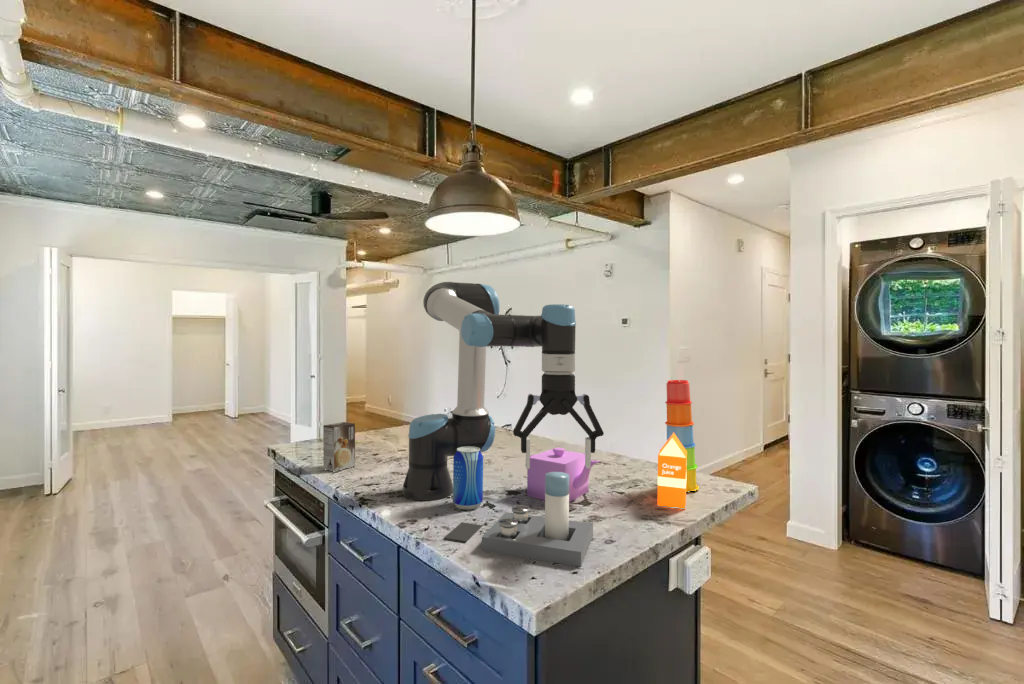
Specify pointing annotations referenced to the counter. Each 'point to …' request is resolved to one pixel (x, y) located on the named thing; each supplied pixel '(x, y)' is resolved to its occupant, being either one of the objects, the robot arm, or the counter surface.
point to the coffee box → (339, 446)
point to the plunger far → (520, 513)
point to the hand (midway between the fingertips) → (557, 467)
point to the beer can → (468, 478)
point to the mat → (463, 532)
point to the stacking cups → (682, 425)
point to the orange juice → (672, 474)
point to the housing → (540, 541)
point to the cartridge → (557, 506)
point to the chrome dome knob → (508, 528)
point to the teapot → (558, 463)
